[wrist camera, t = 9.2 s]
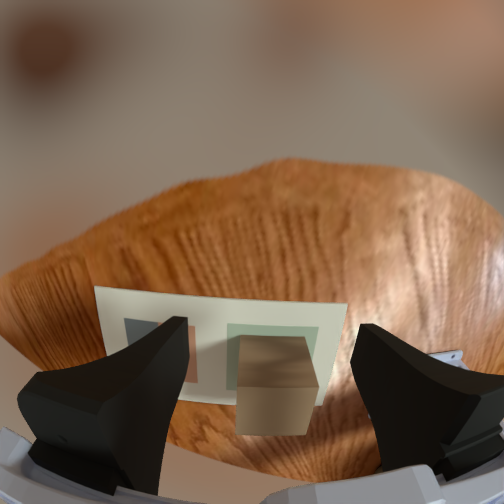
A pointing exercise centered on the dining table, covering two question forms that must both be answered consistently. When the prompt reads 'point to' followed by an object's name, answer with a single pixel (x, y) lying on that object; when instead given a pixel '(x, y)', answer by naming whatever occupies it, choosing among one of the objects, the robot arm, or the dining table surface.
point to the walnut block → (274, 386)
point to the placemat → (220, 333)
